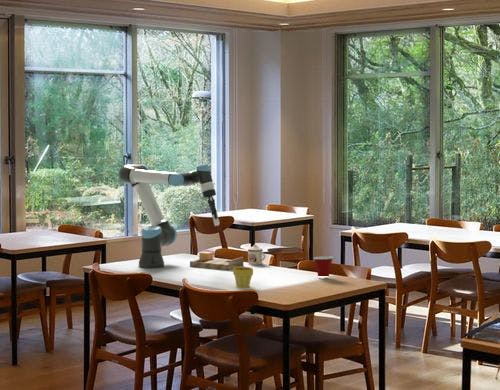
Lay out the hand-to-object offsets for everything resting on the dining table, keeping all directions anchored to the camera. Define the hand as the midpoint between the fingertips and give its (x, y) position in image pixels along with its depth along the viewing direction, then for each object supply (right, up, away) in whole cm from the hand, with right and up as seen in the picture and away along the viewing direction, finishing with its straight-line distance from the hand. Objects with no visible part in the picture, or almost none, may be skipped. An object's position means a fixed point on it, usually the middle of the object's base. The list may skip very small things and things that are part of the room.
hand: (217, 225), depth 537 cm
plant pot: (+15, -31, -55) cm, 65 cm away
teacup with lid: (+23, -24, +20) cm, 39 cm away
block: (-7, -21, +18) cm, 29 cm away
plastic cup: (+60, -29, -27) cm, 72 cm away
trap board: (-1, -25, +10) cm, 27 cm away
